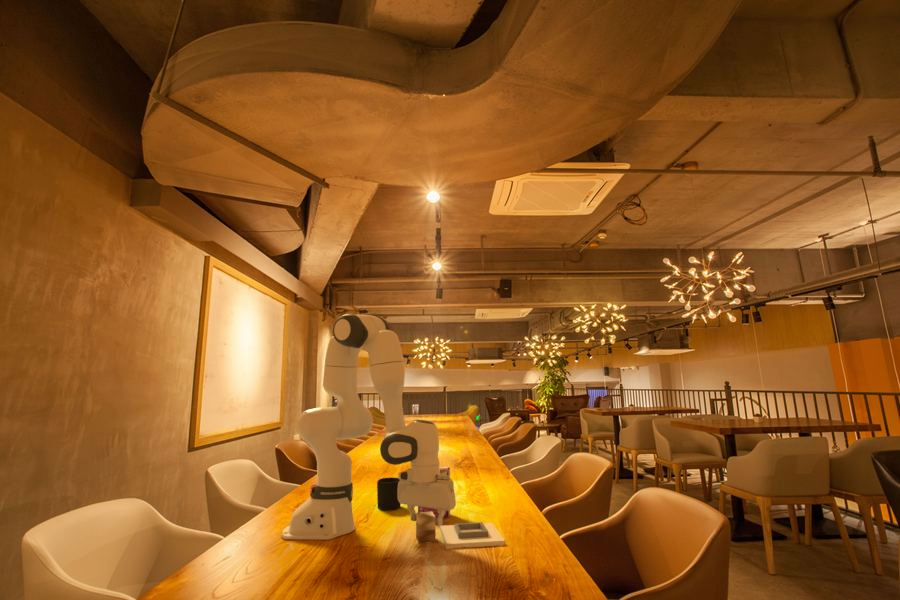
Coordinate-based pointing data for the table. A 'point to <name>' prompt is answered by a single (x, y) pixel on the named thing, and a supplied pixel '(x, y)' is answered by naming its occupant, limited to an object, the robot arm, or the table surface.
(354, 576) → the table surface
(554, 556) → the table surface
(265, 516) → the table surface
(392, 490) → the pen holder
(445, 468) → the candy bar box
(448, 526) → the base plate
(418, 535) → the tan rectangular block
